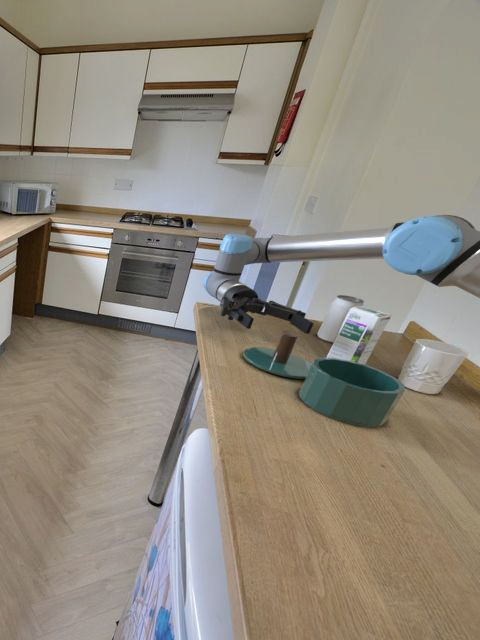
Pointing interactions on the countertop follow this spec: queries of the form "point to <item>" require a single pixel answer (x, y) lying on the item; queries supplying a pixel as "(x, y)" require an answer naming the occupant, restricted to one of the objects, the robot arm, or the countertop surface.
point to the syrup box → (359, 334)
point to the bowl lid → (279, 358)
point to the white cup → (430, 365)
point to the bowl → (351, 392)
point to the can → (337, 316)
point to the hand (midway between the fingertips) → (280, 326)
